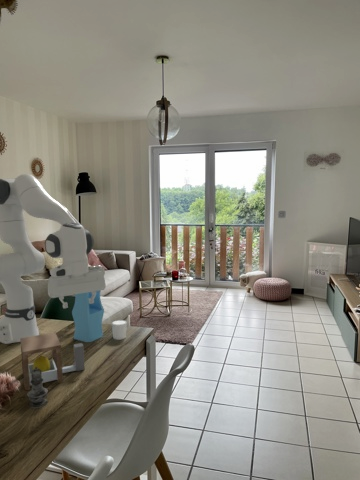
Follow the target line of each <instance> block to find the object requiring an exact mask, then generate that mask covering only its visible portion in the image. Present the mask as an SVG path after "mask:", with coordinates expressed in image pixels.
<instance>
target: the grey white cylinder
mask: <svg viewBox="0 0 360 480" xmlns="http://www.w3.org/2000/svg"><path fill="white" fill-rule="evenodd" d="M110 325H111V328H112V329H111V330H112V338H113V339H114V340H118V341H119V340H120V341H121V340H125V339H126V338H127V328H128V326H127V325H128V322H127V320H124V319H117V320H114V321H112V322H111V324H110Z"/></svg>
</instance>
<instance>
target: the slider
mask: <svg viewBox="0 0 360 480" xmlns="http://www.w3.org/2000/svg"><path fill="white" fill-rule="evenodd" d="M84 347H85V346H84V344H83V343H82V342H81V343H75V344H73V358H74V359H73V360H74V364H72V365H68V366H67V365H66V366H62V374H65V373H69V372H71V373H72V372H74V371H76V372H79V371H84V370H85V369H86V368H85V352H84V351H85V350H84ZM48 360H49V363H50V370H49V371H46V372H41V373H42V379H43V381H42V384H43V383H47V382H52V381H56V380H57V381H58V378H57V368H56V365H55V362H54V359H53V358H52V359H48ZM33 364H34V362H33V363H28V365H29V381H30V386H32V383H31V380H32V375H31V372H32V371H33Z"/></svg>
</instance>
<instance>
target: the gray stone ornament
mask: <svg viewBox="0 0 360 480" xmlns="http://www.w3.org/2000/svg"><path fill="white" fill-rule="evenodd" d="M30 375H32V380H31V383H32V385H31V389H30V390H29V391H28V392H27V393H26V395H27V397H28V400H29V401H30V402H29V404H28V406H29V408H30V409H40V408H43V407H44V406H46V405H47V403H48V399H46V398H47V394H48V392H49V390H48V388H46V387H44V386H43V383H42V381H43V379H42V373H41V370H40V369H37V367H35V369H34V370H33V371H32V372H31V374H30Z"/></svg>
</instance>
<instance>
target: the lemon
mask: <svg viewBox="0 0 360 480" xmlns="http://www.w3.org/2000/svg"><path fill="white" fill-rule="evenodd" d="M49 360H50V359H49V358H47V357H46V356H43V355H40V356H38V357H36V358H35V359H34V362H33V363H34V364H33V363H32V364H33V370H34V369H35V367H37V369H40V370H41V372H46V371H50V363H49Z"/></svg>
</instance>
